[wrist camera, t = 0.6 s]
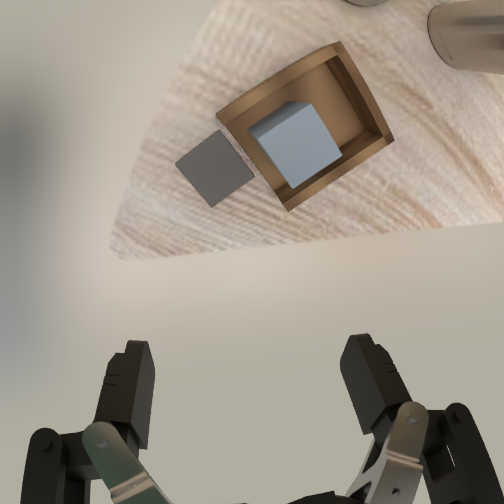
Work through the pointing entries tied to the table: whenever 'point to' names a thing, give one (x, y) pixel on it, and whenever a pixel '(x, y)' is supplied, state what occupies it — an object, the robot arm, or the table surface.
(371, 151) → the crate
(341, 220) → the table surface
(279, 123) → the block
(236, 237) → the table surface
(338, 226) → the table surface
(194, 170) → the coaster
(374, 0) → the can
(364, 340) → the robot arm
